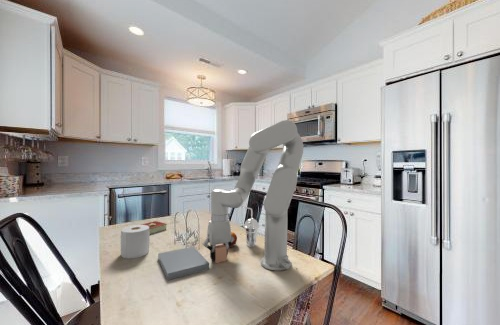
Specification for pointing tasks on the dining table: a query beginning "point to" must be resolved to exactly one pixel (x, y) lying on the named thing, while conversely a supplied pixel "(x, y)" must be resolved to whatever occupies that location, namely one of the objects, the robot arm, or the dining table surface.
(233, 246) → the fruit
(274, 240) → the robot arm
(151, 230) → the hardcover book
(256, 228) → the cup with straw
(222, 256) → the terracotta block
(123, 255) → the toilet paper roll
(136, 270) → the dining table surface
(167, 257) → the slate board
